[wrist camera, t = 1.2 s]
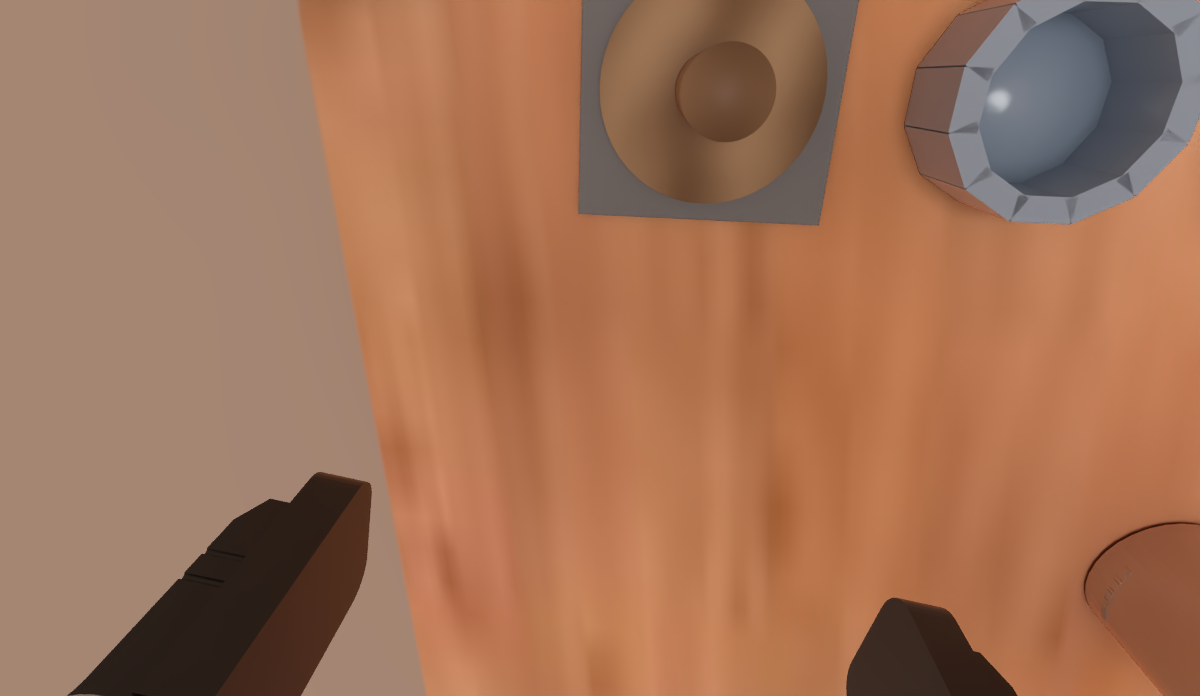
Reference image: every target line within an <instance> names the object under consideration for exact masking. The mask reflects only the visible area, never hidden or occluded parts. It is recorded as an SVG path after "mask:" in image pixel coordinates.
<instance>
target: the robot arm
mask: <svg viewBox="0 0 1200 696" xmlns="http://www.w3.org/2000/svg"><path fill="white" fill-rule="evenodd" d="M371 493H372V491H371V485H370V483H368V482H365V481H360V480H355V479H351V478H346V477H342V476H337V475H332V474H327V473H323V472H318V473H316V474H315V475H313V476H312V477H311V478H310V480H309V481H308V482H307V483H306V484H305V486H304V487H303V488H302V489H301V490H300V491H299V493H298V494H297V495H296V496H295V497H294V499H293V500H292V501H291V502H290V503H288V502H283V501H278V500H274V499H269V500H267V501H265V502H264V503H262V504H260V505H258V506H257V507H255V508H253V509H251V510H250V511H248V512H246V513H244V514H243V515H241V516H239V517H237V518H236V519H234V520H233V521H232V522H231V523H230V524H229V525H228V526H227V527H226V528H225V530H224V531H223V532H222V533H221V534H220V535H219V536H218V537H217V538H216V539H215V540H214V541H213V542H212V543H211V545H210V546H209V547H208V548H207V551H206V553H205V554H201V555H200V556H199V557H198V559H197V560H196V561H195V562H194V563H193V564H192V565H191V566H190V567H189V568H188V569H187V570H186V572H185V574H184V576H183V578H182V579H178V580H177V581H176V582H175V583H174V584H173V586H171V588H170V589H169V590H168V591H167V592H166V593H165V594H164V595H163V596H162V597H161V598H160V600H158V602H157V603H156V604H155V605H154V606H153V607H152V608H151V609H150V610H149V611H148V612H147V614H145V616H144V617H143V618H142V619H141V620H140V621H139V622H138V623H137V624H136V626H135V627H133V628H132V630H131V631H130V632H129V633H128V634H127V635H126V636H125V637H124V638H123V639H122V640H121V641H120V643H119V644H118V645H117V646H116V647H115V648H114V649H113V650H112V651H111V652H110V653H109V654H108V655H107V656H106V658H105V659H104V660H103V661H102V662H101V663H100V664H99V665H98V666H97V667H96V668H95V669H94V671H92V673H91V674H90V675H89V676H88V677H87V678H86V679H85V680H84V681H83V682H82V683H81V684H80V685H79V686H78V687H77V688H76V689H75V690H74V691H72V692H71V693H70V694H68V695H67V696H301V694H302V693H303V691H304V689H305V687H306V685H307V684H308V682H309V680H310V678H311V676H312V675H313V673H314V671H315V669H316V667H317V666H318V664H319V662H320V660H321V658H322V657H323V655H324V653H325V651H326V650H327V648H328V646H329V644H330V642H331V640H332V638H333V637H334V635H335V633H336V632H337V630H338V628H339V626H340V624H341V622H342V621H343V619H344V617H345V615H346V613H347V611H348V610H349V608H350V606H351V605H352V603H353V601H354V599H355V597H356V594H357V592H358V590H359V587H360V584H361V581H362V578H363V574H364V571H365V567H366V560H367V550H368V537H369V522H370V508H371ZM1085 595H1086V598H1087V602H1088V605H1089V606H1090V607H1091V609H1092V610H1093V612H1094V613H1095V614H1096V615H1097V617H1098V618H1099V619H1100V620H1101V621H1102V623H1103V624H1104V625H1105V626H1106V627H1107V629H1108V630H1109V631H1110V632H1111V633H1112V635H1113V636H1114V637H1115V638H1116V639H1117V640H1118V642H1119V643H1120V644H1121V645H1122V646H1123V648H1124V649H1125V650H1126V651H1127V652H1128V654H1129V655H1130V656H1131V658H1132V659H1133V660H1134V661H1135V662H1136V664H1137V665H1138V666H1139V667H1140V668H1141V670H1142V671H1143V672H1144V673H1145V674H1146V676H1147V677H1148V678H1149V679H1150V680H1151V682H1152V683H1153V684H1154V685H1155V686H1156V688H1157V689H1158V690H1159V691H1160V692H1161V693H1162V695H1163V696H1200V525H1195V524H1170V525H1162V526H1158V527H1153V528H1149V529H1146V530H1143V531H1141V532H1138V533H1135V534H1133V535H1131V536H1129V537H1127V538H1125V539H1124V540H1122V541H1120V542H1118V543H1117V544H1115V545H1114V546H1113V547H1111V548H1110V549H1109V550H1107V551H1106V552H1105V553H1104V554H1103V555H1102V556H1101V557H1100V558H1099V559H1098V560H1097V562H1096V563H1095V564H1094V566H1093V568H1092V569H1091V571H1090V573H1089V575H1088V578H1087V581H1086V587H1085ZM846 689H847V696H1017V694H1016V692H1015V691H1014V689H1013V687H1012V686H1011V685H1010V684H1009V683H1008V682H1007V681H1006V680H1005V679H1004V678H1003V677H1002V676H1001V675H1000V674H999V673H998V671H997V670H996V669H995V668H994V667H993V666H992V665H991V664H990V663H989V662H988V661H987V660H986V659H985V658H984V657H983V655H982V654H981V653H979V652H974V651H973V650H972V648H971V646H970V645H969V643H968V641H967V639H966V638H965V636H964V634H963V632H962V631H961V629H960V627H959V625H958V624H957V622H956V620H955V619H954V617H953V616H952V614H951V613H950V612H949V611H947V610H946V609H944V608H941V607H936V606H932V605H927V604H922V603H918V602H913V601H908V600H904V599H899V598H891V599H889V600H887V601H886V602H885V603H884V605H883V606H882V608H881V610H880V612H879V613H878V615H877V617H876V619H875V621H874V622H873V624H872V626H871V628H870V630H869V631H868V633H867V635H866V637H865V639H864V640H863V642H862V644H861V646H860V648H859V649H858V651H857V653H856V655H855V657H854V659H853V660H852V662H851V664H850V667H849V671H848V675H847V686H846Z"/></svg>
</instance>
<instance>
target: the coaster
mask: <svg viewBox="0 0 1200 696" xmlns="http://www.w3.org/2000/svg"><path fill="white" fill-rule="evenodd" d="M633 1H634V0H583V8H582V61H581V113H580V165H579V214H592V215H613V216H634V217H655V218H675V219H696V220H717V221H738V222H759V223H779V224H800V225H819V221H820V216H821V210H822V204H823V199H824V193H825V188H826V182H827V176H828V171H829V165H830V160H831V154H832V148H833V143H834V137H835V131H836V126H837V120H838V115H839V109H840V103H841V98H842V92H843V87H844V81H845V75H846V70H847V64H848V58H849V53H850V47H851V42H852V36H853V30H854V25H855V19H856V14H857V8H858V2H859V0H804V1H805V2H806V3H807V5H808V7H809V8H810V10H811V11H812V13H813V15H814V17H815V19H816V21H817V24H818V26H819V28H820V31H821V34H822V38H823V41H824V45H825V50H826V57H827V87H826V96H825V100H824V104H823V109H822V112H821V115H820V118H819V120H818V123H817V126H816V128H815V130H814V132H813V134H812V136H811V138H810V140H809V141H808V143H807V144H806V146H805V148H804V149H803V151H802V152H801V154H800V155H799V156H798V157H797V158H796V160H795V161H794V162H793V163H792V164H791V165H790V166H789V167H788V168H787V169H786V170H785V171H784V172H783V173H782V174H781V175H780V176H779V177H777V178H776V179H775V180H773V181H772V182H771V183H769V184H768V185H766V186H764V187H763V188H761V189H759V190H757V191H756V192H754V193H751V194H749V195H746V196H744V197H742V198H738V199H735V200H731V201H727V202H720V203H710V204H699V203H690V202H684V201H680V200H676V199H673V198H670V197H668V196H665V195H663V194H660V193H659V192H657V191H655V190H653V189H652V188H650V187H648V186H647V185H646V184H644V183H643V182H642V181H640V180H639V179H638V178H637V177H636V176H635V175H634V174H633V173H632V172H631V171H630V170H629V169H628V168H627V167H626V165H625V164H624V163H623V162H622V160H621V159H620V158H619V156H618V154H617V153H616V151H615V149H614V147H613V146H612V144H611V141H610V139H609V136H608V134H607V132H606V128H605V125H604V121H603V118H602V111H601V105H600V76H601V68H602V63H603V59H604V54H605V51H606V48H607V45H608V42H609V39H610V37H611V35H612V33H613V31H614V29H615V27H616V25H617V23H618V21H619V20H620V18H621V17H622V15H623V14H624V12H625V10H626V9H627V8H628V7H629V6H630V4H631V3H632V2H633Z"/></svg>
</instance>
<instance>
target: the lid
mask: <svg viewBox="0 0 1200 696" xmlns="http://www.w3.org/2000/svg"><path fill="white" fill-rule="evenodd" d="M826 87H827V57H826V50H825V45H824V41H823V38H822V34H821V31H820V28H819V26H818V24H817V21H816V19H815V17H814V15H813V13H812V11H811V10H810V8H809V7H808V5H807V3H806V2H805V1H804V0H634V1H633V2H632V3H631V4H630V6H629V7H628V8H627V9H626V10H625V12H624V14H623V15H622V17H621V18H620V20H619V21H618V23H617V25H616V27H615V29H614V31H613V33H612V35H611V37H610V39H609V42H608V45H607V48H606V51H605V54H604V59H603V63H602V68H601V76H600V105H601V111H602V118H603V121H604V125H605V128H606V132H607V134H608V136H609V139H610V141H611V144H612V146H613V147H614V149H615V151H616V153H617V154H618V156H619V158H620V159H621V160H622V162H623V163H624V164H625V165H626V167H627V168H628V169H629V170H630V171H631V172H632V173H633V174H634V175H635V176H636V177H637V178H638V179H639V180H640V181H642V182H643V183H644V184H646V185H647V186H648V187H650V188H652V189H653V190H655V191H657V192H659V193H660V194H663V195H665V196H668V197H670V198H673V199H676V200H680V201H684V202H690V203H699V204H710V203H720V202H727V201H731V200H735V199H738V198H742V197H744V196H746V195H749V194H751V193H754V192H756V191H757V190H759V189H761V188H763V187H764V186H766V185H768V184H769V183H771V182H772V181H773V180H775V179H776V178H777V177H779V176H780V175H781V174H782V173H783V172H784V171H785V170H786V169H787V168H788V167H789V166H790V165H791V164H792V163H793V162H794V161H795V160H796V158H797V157H798V156H799V155H800V154H801V152H802V151H803V149H804V148H805V146H806V144H807V143H808V141H809V140H810V138H811V136H812V134H813V132H814V130H815V128H816V126H817V123H818V120H819V118H820V115H821V112H822V109H823V104H824V100H825V96H826Z"/></svg>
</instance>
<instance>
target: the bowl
mask: <svg viewBox="0 0 1200 696" xmlns="http://www.w3.org/2000/svg"><path fill="white" fill-rule="evenodd" d="M918 68H919V69H916V74H915V78H914V83H913V87H912V92H911V96H910V101H909V106H908V110H907V115H906V119H905V124H904V125H906V126H904V127H905V130H906V133H907V136H908V139H909V142H910V145H911V148H912V151H913V154H914V157H915V161H916V164H917V167H918V170H919V173H921V175H922V176H924V177H925V178H926V179H928V180H929V181H931V182H932V183H933V184H935V185H936V186H937V187H939V188H940V189H942V190H943V191H944V192H946V193H947V194H948V195H950V196H951V197H953V198H954V199H955V200H957V201H958V202H961V203H963V204H966V205H969V206H971V207H974V208H976V209H979V210H981V211H984V212H986V213H989V214H991V215H994V216H997V217H999V218H1002V219H1004V220H1007V221H1010V222H1025V223H1046V224H1068V225H1070V224H1073V223H1075V222H1078V221H1080V220H1082V219H1085V218H1087V217H1090V216H1092V215H1094V214H1097V213H1099V212H1101V211H1104V210H1106V209H1108V208H1111V207H1113V206H1115V205H1118V204H1120V203H1122V202H1125V201H1127V200H1129V199H1132V198H1134V196H1137V195H1138V194H1139V193H1140V192H1141V191H1142V190H1143V189H1144V188H1145V187H1146V186H1147V185H1148V184H1149V183H1150V182H1151V181H1152V180H1153V179H1154V178H1155V177H1156V176H1157V175H1158V174H1159V173H1160V172H1161V171H1162V170H1163V169H1164V168H1165V167H1166V166H1167V165H1168V164H1169V163H1170V162H1171V161H1172V160H1173V159H1174V158H1175V157H1176V156H1177V155H1178V154H1179V153H1180V152H1181V151H1182V150H1183V149H1184V148H1185V147H1186V146H1187V145H1188V144H1187V143H1186V142H1190V140H1191V137H1192V135H1193V132H1194V130H1195V127H1196V125H1197V122H1198V120H1199V117H1200V2H1198V1H1197V0H985V1H983V2H982V3H980V4H978V5H976V6H974V7H972V8H970V9H968V10H966V11H964V12H963V13H961V14H959V16H956V18H955V19H954V20H953V22H952V23H951V24H950V26H949V27H948V28H947V29H946V31H945V32H944V33H943V35H942V36H941V37H940V38H939V40H938V41H937V42H936V44H935V45H934V46H933V48H932V49H931V50H930V51H929V53H928V54H927V55H926V57H925V58H924V59H923V60H922V62H921V63H920V64H919V66H918Z"/></svg>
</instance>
